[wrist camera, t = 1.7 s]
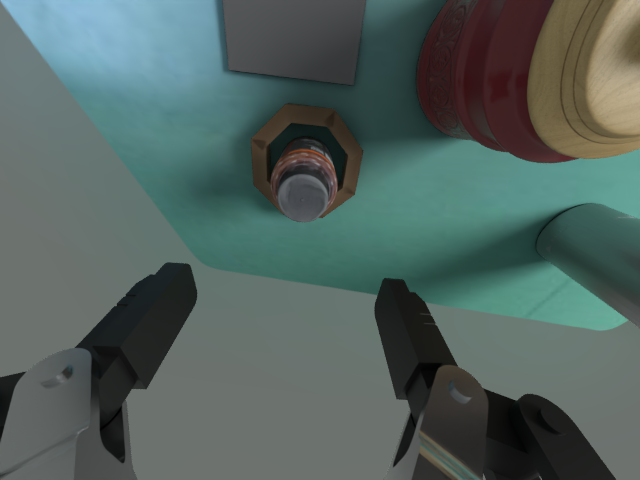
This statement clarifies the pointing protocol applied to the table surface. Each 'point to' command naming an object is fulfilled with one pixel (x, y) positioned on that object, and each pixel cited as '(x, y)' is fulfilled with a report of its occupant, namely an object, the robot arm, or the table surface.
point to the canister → (535, 76)
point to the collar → (309, 117)
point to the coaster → (295, 38)
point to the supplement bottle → (304, 179)
